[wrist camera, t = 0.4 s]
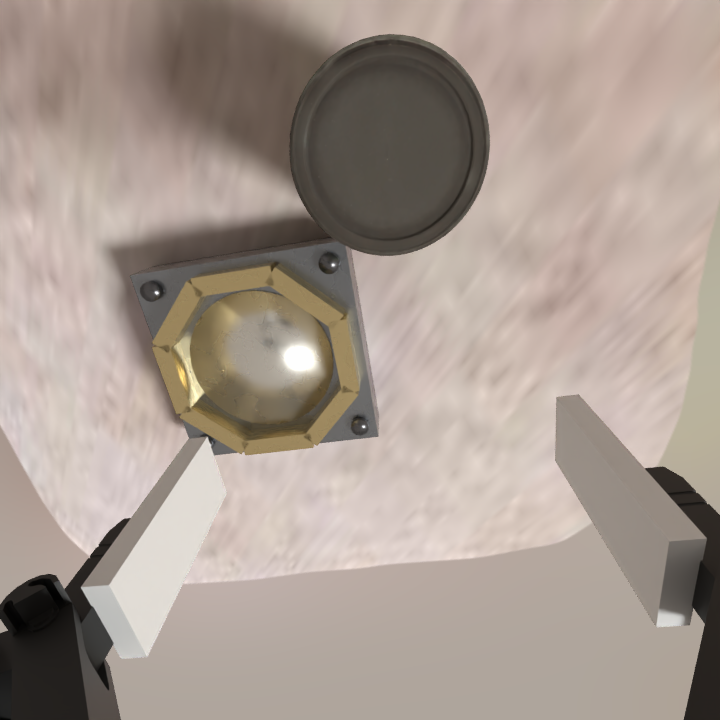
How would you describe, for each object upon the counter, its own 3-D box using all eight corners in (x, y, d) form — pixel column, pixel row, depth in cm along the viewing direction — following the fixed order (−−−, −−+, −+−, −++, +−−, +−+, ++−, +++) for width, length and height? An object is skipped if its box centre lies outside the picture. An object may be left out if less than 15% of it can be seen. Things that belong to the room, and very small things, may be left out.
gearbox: (153, 266, 39) (117, 280, 34) (348, 234, 38) (342, 243, 32) (210, 435, 46) (188, 468, 41) (378, 415, 44) (378, 447, 39)
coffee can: (469, 194, 36) (518, 203, 23) (357, 250, 38) (344, 286, 25) (419, 62, 33) (444, -16, 20) (300, 131, 35) (251, 103, 22)
